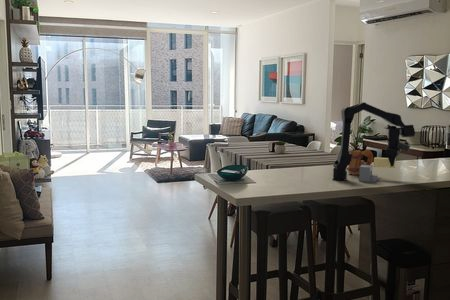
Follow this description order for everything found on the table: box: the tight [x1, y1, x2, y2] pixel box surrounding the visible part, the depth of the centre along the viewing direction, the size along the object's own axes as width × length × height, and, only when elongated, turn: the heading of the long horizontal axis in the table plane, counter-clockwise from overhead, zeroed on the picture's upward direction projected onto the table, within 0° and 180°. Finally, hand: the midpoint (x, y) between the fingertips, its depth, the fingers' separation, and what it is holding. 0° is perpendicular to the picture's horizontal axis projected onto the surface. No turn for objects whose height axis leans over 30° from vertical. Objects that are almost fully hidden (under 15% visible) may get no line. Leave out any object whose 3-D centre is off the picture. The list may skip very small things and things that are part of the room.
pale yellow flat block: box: [373, 157, 397, 169], centre depth 242 cm, size 11×2×5 cm, turn 64°
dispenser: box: [358, 164, 379, 183], centre depth 239 cm, size 8×8×8 cm
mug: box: [346, 148, 374, 176], centre depth 257 cm, size 15×8×15 cm, turn 62°
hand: (392, 165), depth 241 cm, fingers closed on pale yellow flat block, 2 cm apart
